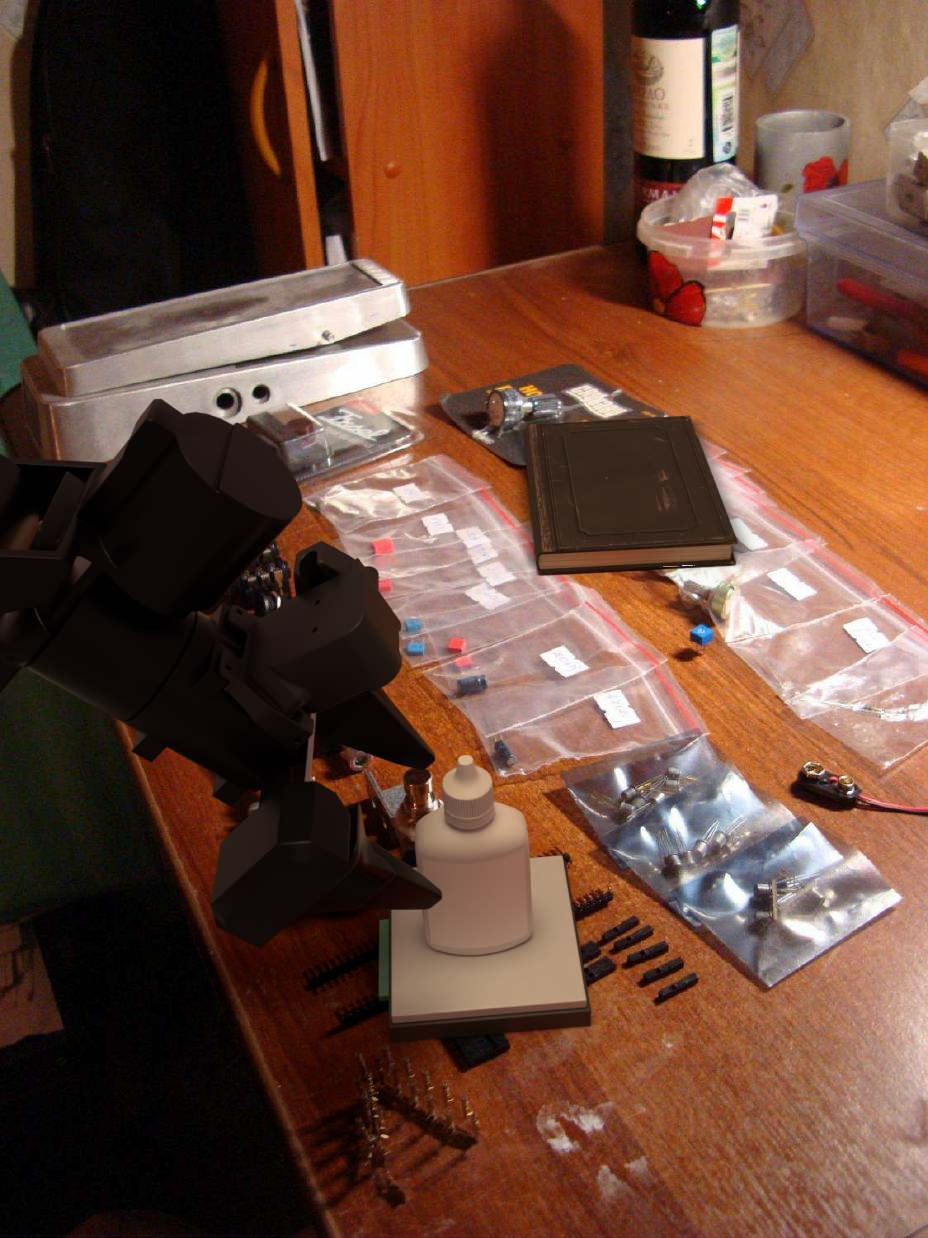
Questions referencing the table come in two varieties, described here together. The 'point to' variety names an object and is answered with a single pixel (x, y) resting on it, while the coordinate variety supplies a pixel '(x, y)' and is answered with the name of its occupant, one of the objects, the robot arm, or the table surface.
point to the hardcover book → (623, 496)
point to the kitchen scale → (488, 972)
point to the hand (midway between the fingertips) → (432, 827)
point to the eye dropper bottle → (475, 867)
